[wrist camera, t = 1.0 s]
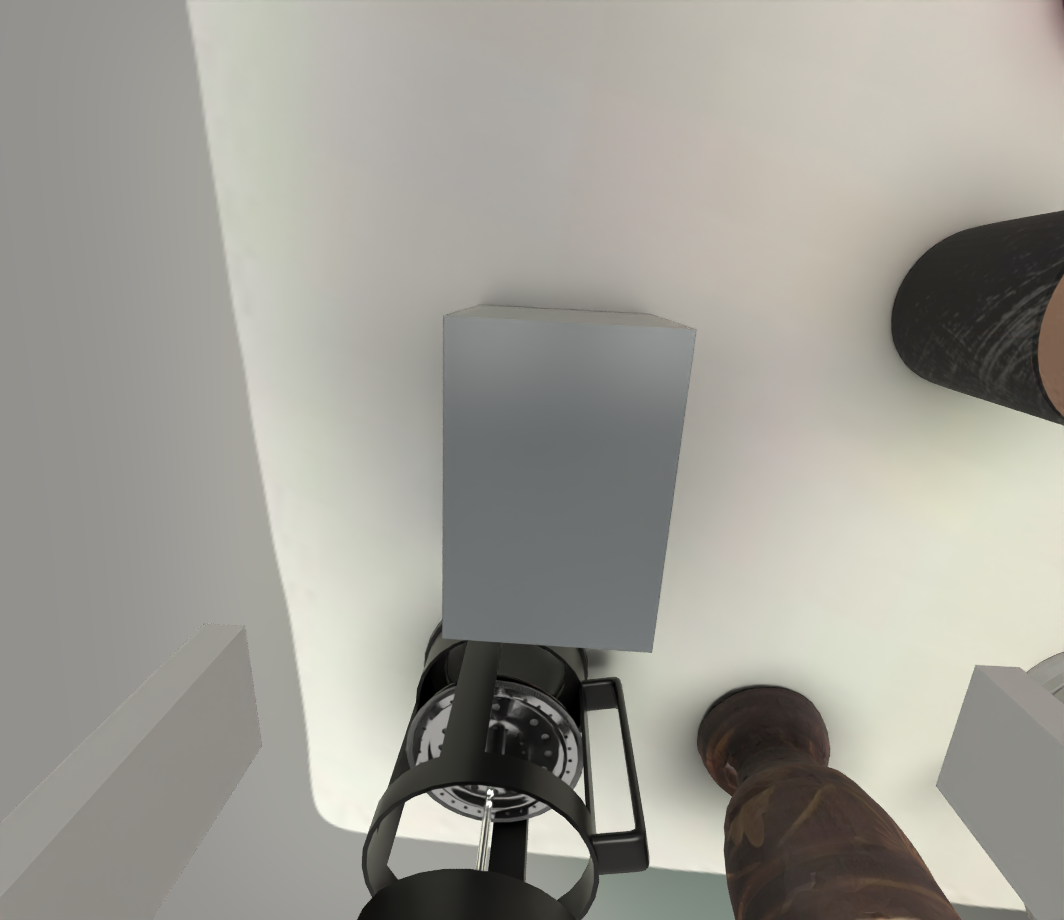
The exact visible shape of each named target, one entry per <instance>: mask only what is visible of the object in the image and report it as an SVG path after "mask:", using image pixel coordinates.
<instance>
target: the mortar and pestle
mask: <svg viewBox="0 0 1064 920" xmlns="http://www.w3.org/2000/svg"><path fill="white" fill-rule="evenodd" d="M698 750H699V753H700V755H701V757H702V760H703V763H704V765H705V767H706V768H707V770H708V772H709V773H710V775H711V776H712V777H713V779H714V780H715V782H716V783H717V784H718V785H719V786H720V787H721V788H722V789H723V790H725V791H726V792H727V793H728V794H730V795H731V796H732V798H731V800H730V803H729V805H728V807H727V810H726V817H725V823H724V834H725V842H724V857H725V868H726V877H727V885H728V890H729V895H730V900H731V904H732V907H733V912H734V916H735V920H961V919H960V917H959V916H958V914H957V913H956V911H955V910H954V908H953V907H952V905H951V904H950V902H949V901H948V899H947V898H946V896H945V895H944V893H943V892H942V890H941V889H940V887H939V886H938V884H937V883H936V881H935V880H934V878H933V876H932V874H931V873H930V871H929V869H928V868H927V866H926V864H925V863H924V861H923V860H922V858H921V856H920V855H919V853H918V852H917V850H916V849H915V847H914V846H913V845H912V843H911V842H910V840H909V839H908V838H907V836H906V835H905V834H904V833H903V831H902V830H901V829H900V828H899V826H898V825H897V824H896V823H895V822H894V820H893V819H892V818H891V817H890V816H889V815H888V814H887V812H886V811H885V810H884V809H883V808H882V807H881V806H880V805H879V804H877V803H876V802H875V801H874V800H873V799H872V798H871V797H870V796H869V795H868V794H867V793H866V792H865V791H864V790H863V789H861V788H860V787H859V786H858V785H857V784H856V783H855V782H854V781H852V780H851V779H850V778H848V777H847V776H846V775H844V774H843V773H841V772H839V771H838V770H835V769H832V768H829V767H827V766H828V761H829V757H830V745H829V738H828V732H827V729H826V726H825V723H824V721H823V719H822V717H821V715H820V713H819V712H818V710H817V709H816V707H815V706H814V705H813V703H812V702H810V701H809V700H808V699H807V698H805V697H804V696H802V695H800V694H797V693H795V692H793V691H790V690H786V689H780V688H756V689H750V690H745V691H742V692H739V693H736V694H734V695H732V696H731V697H729V698H727V699H726V700H724V701H723V702H721V703H720V704H719V705H718V706H716V707H715V708H714V709H713V710H711V711H710V713H709V714H708V715H707V717H706V718H705V719H704V720H703V722H702V724H701V726H700V729H699V733H698Z"/></svg>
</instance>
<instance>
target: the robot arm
mask: <svg viewBox="0 0 1064 920" xmlns="http://www.w3.org/2000/svg"><path fill="white" fill-rule="evenodd" d="M261 746H262V741H261V735H260V727H259V720H258V713H257V706H256V699H255V692H254V685H253V678H252V671H251V665H250V658H249V651H248V643H247V637H246V629H245V626H237V625H219V624H203V625H202V626H201V627H200V628H199V629H198V630H197V631H196V632H195V633H194V634H193V635H192V636H191V637H190V638H189V639H188V640H187V641H186V642H185V643H184V644H183V645H182V646H181V647H180V648H178V649H177V650H176V651H175V652H174V653H173V654H172V655H171V656H170V657H169V658H168V659H167V660H166V661H165V662H164V663H163V664H162V665H161V666H160V667H159V668H158V669H157V670H156V671H155V672H154V673H153V674H152V675H151V676H150V677H149V678H148V679H147V680H146V681H145V682H144V683H143V684H142V685H141V686H140V687H139V688H138V689H137V690H135V692H133V693H132V694H131V695H130V696H129V697H128V698H127V699H126V700H125V701H124V702H123V703H122V704H121V705H120V706H119V707H118V708H117V709H116V710H115V711H114V712H113V713H112V714H111V715H110V716H109V717H108V718H107V719H106V720H105V721H104V722H103V723H102V724H101V725H100V726H99V727H98V728H97V729H95V730H94V732H92V733H91V734H90V735H89V736H88V737H87V738H86V739H85V740H84V741H83V742H82V743H81V744H80V745H79V746H78V747H77V748H76V749H75V750H74V751H73V752H72V753H71V754H70V755H69V756H68V757H67V758H66V759H65V760H64V761H63V762H62V763H61V764H60V765H59V766H58V767H57V768H56V769H55V770H53V771H52V772H51V773H50V774H49V776H47V777H46V778H45V779H44V780H43V781H42V782H41V783H40V784H39V785H38V786H37V787H36V788H35V789H34V790H33V791H32V792H31V793H30V794H29V795H28V796H27V797H26V798H25V799H24V800H23V801H22V802H21V803H20V804H19V805H18V806H17V807H16V808H14V809H13V810H12V811H11V812H10V813H9V814H8V815H7V816H6V817H5V818H4V819H3V820H2V821H1V822H0V920H152V919H153V917H154V916H155V914H156V913H157V911H158V909H159V908H160V906H161V905H162V903H163V902H164V900H165V898H166V897H167V895H168V894H169V892H170V890H171V889H172V887H173V886H174V884H175V883H176V881H177V879H178V878H179V876H180V874H181V873H182V871H183V870H184V868H185V867H186V865H187V864H188V862H189V860H190V859H191V857H192V855H193V854H194V852H195V851H196V849H197V847H198V846H199V844H200V843H201V841H202V840H203V838H204V836H205V835H206V833H207V832H208V830H209V829H210V827H211V826H212V824H213V822H214V821H215V819H216V818H217V816H218V814H219V813H220V811H221V810H222V808H223V807H224V805H225V803H226V802H227V800H228V799H229V797H230V795H231V794H232V792H233V791H234V789H235V787H236V786H237V784H238V783H239V781H240V780H241V778H242V776H243V775H244V773H245V772H246V770H247V768H248V767H249V765H250V764H251V762H252V760H253V759H254V757H255V755H256V754H257V753H258V751H259V749H260V748H261ZM936 787H937V788H938V789H939V791H940V792H941V793H942V795H943V796H944V797H945V799H946V800H947V801H948V803H949V804H950V805H951V807H952V808H953V809H954V811H955V812H956V813H957V815H958V816H959V817H960V818H961V820H962V821H963V822H964V824H965V825H966V826H967V828H968V829H969V830H970V832H971V833H972V834H973V836H974V837H975V838H976V840H977V841H978V842H979V844H980V845H981V846H982V848H983V849H984V850H985V852H986V853H987V854H988V856H989V857H990V858H991V860H992V861H993V862H994V864H995V865H996V866H997V868H998V869H999V870H1000V872H1001V873H1002V874H1003V876H1004V877H1005V878H1006V880H1007V881H1008V882H1009V884H1010V885H1011V886H1012V888H1013V889H1014V890H1015V892H1016V893H1017V894H1018V896H1019V897H1020V898H1021V900H1022V901H1023V902H1024V904H1025V905H1026V906H1027V908H1028V909H1029V910H1030V912H1031V913H1032V914H1033V916H1034V917H1035V918H1036V920H1064V704H1063V703H1062V702H1061V701H1059V700H1058V699H1057V698H1056V697H1055V696H1053V695H1052V694H1051V693H1050V692H1049V691H1047V690H1046V689H1045V688H1044V687H1043V686H1041V685H1040V684H1039V683H1038V682H1037V681H1035V680H1034V679H1033V678H1032V677H1031V676H1029V675H1028V674H1027V673H1026V672H1025V671H1023V670H1022V669H1021V668H1020V667H1002V666H983V665H975V668H974V671H973V674H972V677H971V680H970V683H969V686H968V689H967V692H966V696H965V699H964V702H963V705H962V708H961V711H960V714H959V717H958V720H957V723H956V726H955V729H954V732H953V735H952V738H951V741H950V744H949V747H948V750H947V753H946V756H945V759H944V762H943V765H942V768H941V771H940V774H939V777H938V781H937V784H936Z"/></svg>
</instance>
